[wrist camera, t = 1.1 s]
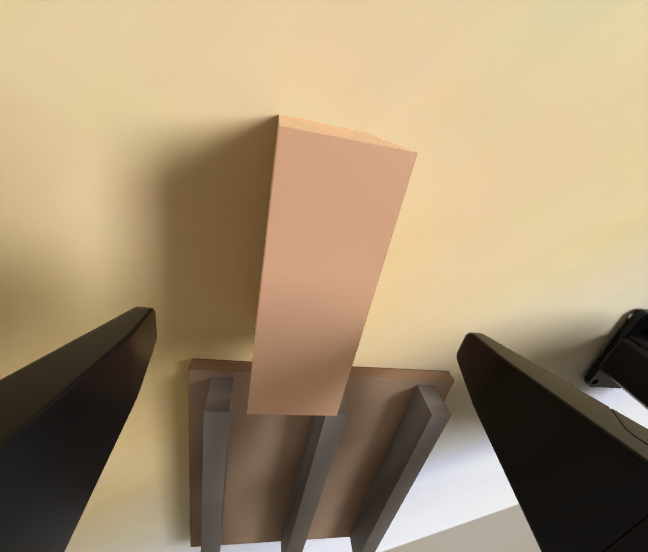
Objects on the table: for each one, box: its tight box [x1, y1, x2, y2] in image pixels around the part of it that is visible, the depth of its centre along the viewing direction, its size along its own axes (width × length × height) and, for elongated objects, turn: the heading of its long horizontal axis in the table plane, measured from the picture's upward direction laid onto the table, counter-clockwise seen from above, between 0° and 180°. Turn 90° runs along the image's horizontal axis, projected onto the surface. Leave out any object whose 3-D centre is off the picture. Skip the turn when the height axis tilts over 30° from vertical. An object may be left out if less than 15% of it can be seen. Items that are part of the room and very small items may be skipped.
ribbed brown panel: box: [189, 359, 454, 552], centre depth 23 cm, size 16×20×3 cm
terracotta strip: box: [247, 115, 417, 416], centre depth 13 cm, size 4×10×6 cm, turn 169°
